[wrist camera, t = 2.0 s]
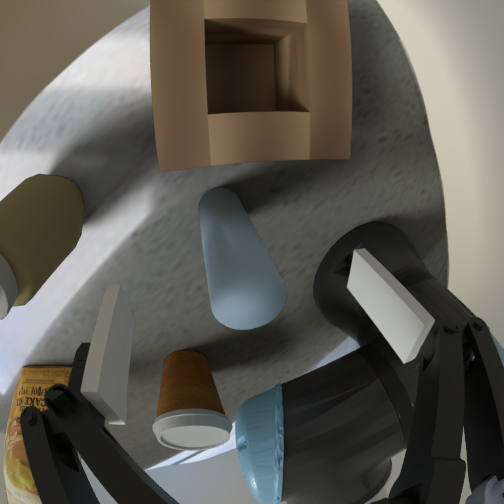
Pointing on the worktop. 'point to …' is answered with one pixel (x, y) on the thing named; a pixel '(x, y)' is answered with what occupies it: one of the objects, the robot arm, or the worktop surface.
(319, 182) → the worktop surface
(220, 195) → the dowel
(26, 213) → the squeeze bottle
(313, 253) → the worktop surface
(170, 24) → the socket block
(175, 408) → the disposable coffee cup
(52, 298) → the worktop surface
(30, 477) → the pancake mix bag
